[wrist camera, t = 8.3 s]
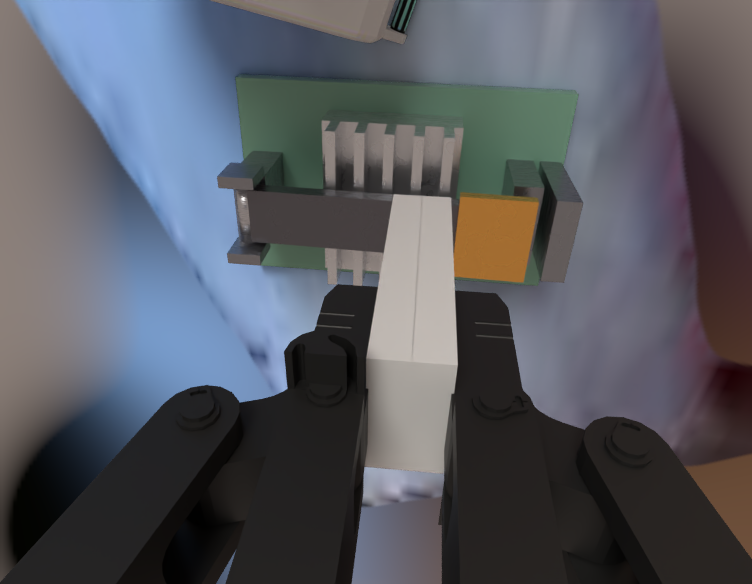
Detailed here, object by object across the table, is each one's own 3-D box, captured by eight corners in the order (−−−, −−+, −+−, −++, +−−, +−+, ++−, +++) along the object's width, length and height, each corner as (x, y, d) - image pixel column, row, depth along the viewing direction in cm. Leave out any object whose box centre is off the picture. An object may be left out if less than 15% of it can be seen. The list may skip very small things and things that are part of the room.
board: (240, 73, 43) (235, 77, 42) (575, 90, 41) (578, 94, 40) (258, 258, 51) (254, 264, 50) (535, 278, 49) (537, 285, 48)
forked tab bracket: (251, 140, 44) (217, 176, 37) (281, 142, 44) (252, 178, 37) (258, 217, 48) (228, 263, 41) (286, 219, 47) (260, 265, 41)
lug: (506, 159, 43) (518, 198, 36) (561, 162, 42) (583, 202, 36) (495, 230, 46) (504, 278, 39) (546, 233, 46) (563, 282, 39)
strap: (236, 168, 39) (226, 179, 38) (535, 190, 38) (539, 202, 36) (244, 244, 43) (235, 257, 41) (520, 267, 41) (523, 282, 39)
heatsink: (329, 109, 42) (314, 130, 37) (462, 116, 41) (464, 138, 37) (331, 250, 49) (319, 283, 44) (447, 258, 48) (447, 293, 43)
